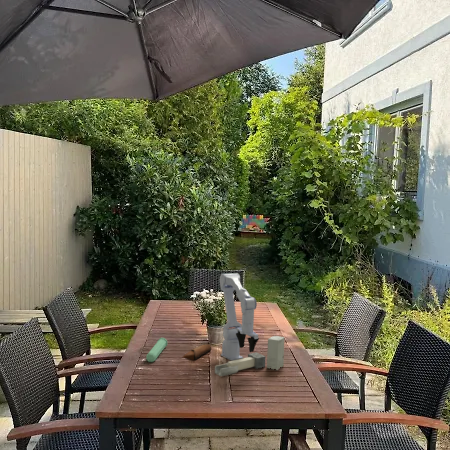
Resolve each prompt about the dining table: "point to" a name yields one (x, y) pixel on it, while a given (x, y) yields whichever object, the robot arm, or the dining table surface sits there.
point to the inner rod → (243, 363)
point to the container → (156, 350)
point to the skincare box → (275, 352)
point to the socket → (258, 360)
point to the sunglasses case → (197, 352)
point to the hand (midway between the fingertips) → (246, 349)
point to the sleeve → (225, 369)
